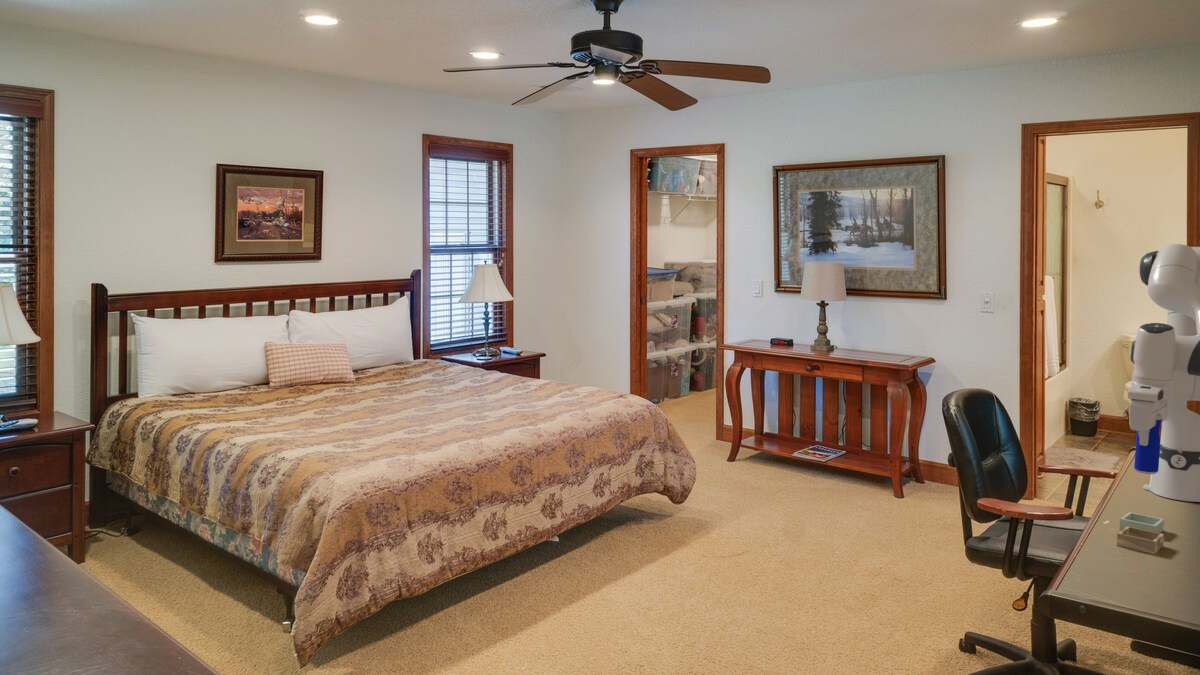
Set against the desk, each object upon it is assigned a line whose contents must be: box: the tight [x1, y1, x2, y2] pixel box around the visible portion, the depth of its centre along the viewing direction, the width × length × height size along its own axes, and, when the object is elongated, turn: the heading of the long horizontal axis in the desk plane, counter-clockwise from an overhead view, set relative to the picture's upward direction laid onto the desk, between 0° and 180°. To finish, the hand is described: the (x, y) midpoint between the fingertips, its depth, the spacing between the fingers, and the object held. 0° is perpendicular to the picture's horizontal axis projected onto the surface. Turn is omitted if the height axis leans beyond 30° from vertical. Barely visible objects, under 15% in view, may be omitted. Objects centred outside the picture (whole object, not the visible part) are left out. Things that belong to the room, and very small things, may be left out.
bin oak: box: [1116, 526, 1165, 555], centre depth 203 cm, size 8×8×3 cm
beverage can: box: [1133, 414, 1162, 475], centre depth 212 cm, size 5×5×15 cm
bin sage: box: [1118, 511, 1165, 534], centre depth 214 cm, size 8×8×3 cm
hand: (1147, 442), depth 212 cm, fingers closed on beverage can, 5 cm apart
